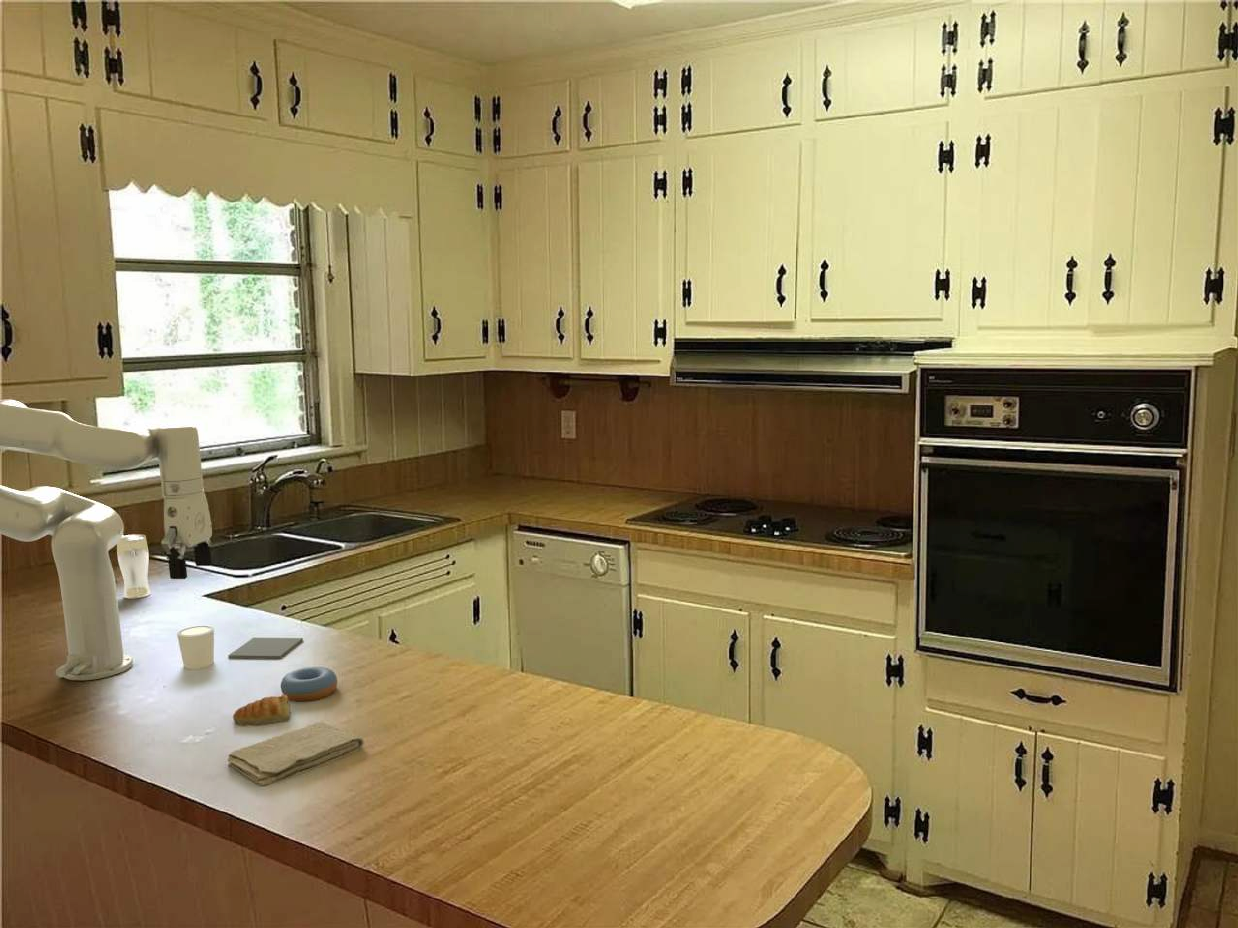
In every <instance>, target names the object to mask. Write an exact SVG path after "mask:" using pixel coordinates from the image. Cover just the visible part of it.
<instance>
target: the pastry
mask: <svg viewBox="0 0 1238 928" xmlns="http://www.w3.org/2000/svg"><path fill="white" fill-rule="evenodd" d="M291 707H292V706H291V704H290V702H289V699H288V697H287V695H285V694H283V693H282V695H281V696H274V695H273V696H265V697H263V698H261V699H260V700H258V699H257V700H254V701H252V702H249V703H247V705H243V706H241V707H239V708H238V709H236V710H235V712H234V714H233V716H232V718H233V721H234V722H235V723H237V724H238V725H241V726H248V725H249V726H263V725H270V724H279V723H285V722H287V721H289V719H291V714H290V712H291Z"/></svg>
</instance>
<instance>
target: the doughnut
mask: <svg viewBox="0 0 1238 928" xmlns="http://www.w3.org/2000/svg"><path fill="white" fill-rule="evenodd" d="M337 678H338V677H337V674H336V672H334V671H333V670H332V669H330V668H327V667H322V666H309V667H308V666H307V667H302V668H298V669H294V670H293V671H290V672H288V673H287V674H286V675H284V676H283V678H282V679H281V682H280V690H281V693H282V695H283V694H285V695H287V697H288V700H290V701H295V702H296V701H297V702H308V701H316V700H319V699H323V698H325V697H327V696H329V695H331V694H332V693H333V692H335V690H336V689H337V686H338V679H337Z"/></svg>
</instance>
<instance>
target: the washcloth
mask: <svg viewBox="0 0 1238 928" xmlns="http://www.w3.org/2000/svg"><path fill="white" fill-rule="evenodd" d="M364 743H365V741H364V740H363V738H362V737H360V736H357V735H355V734H352V733H350V732H348V731H346V732H345V731H342V730H340V729H339V728H337V727H335V726H333V725H332V724H328V723H325V722H322V721H319V722H315V723H312V724H308V725H306V726H303V727H301V728H298V729H293V730H290V731H288V732H285V733H282V734H279V735H277V736H272V737H271V738H268V739H266V740H263V741H261V742H257V743H254V744H251V745H248V746H245V747H241V748H240V749H237V750H234V751H232V752H230V753H229V754H228V756H227V762H228V767H231V768H232V770H233V771H234V773H237V774H238V775H239V776H242V777H244V778H246V779H248V780H249V781H251V782H253V783H254V784H256V785H258V786H267V785H271V784H275V783H278V782H281V781H283V780H287V779H290V778H292V777H295V776H297V775H299V774H302V773H305V772H308V771H310V770H313V769H314V768H315V769H316V768H317V767H321V766H323V765H325V764H328V763H330V762H332V761H334V760H337V759H340V758H342V757H345V756H348V755H351V754H353V753H355V752H357V751H359V750H361V748H363V746H364Z"/></svg>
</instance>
